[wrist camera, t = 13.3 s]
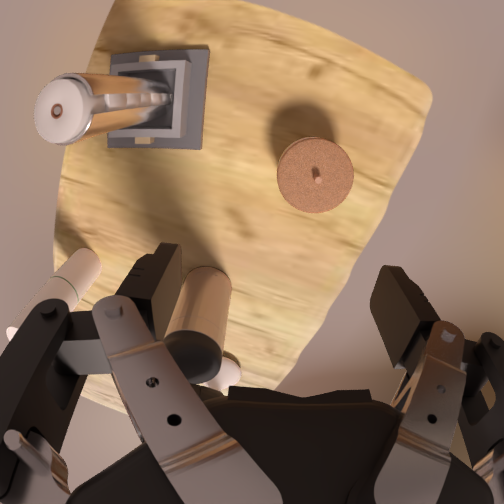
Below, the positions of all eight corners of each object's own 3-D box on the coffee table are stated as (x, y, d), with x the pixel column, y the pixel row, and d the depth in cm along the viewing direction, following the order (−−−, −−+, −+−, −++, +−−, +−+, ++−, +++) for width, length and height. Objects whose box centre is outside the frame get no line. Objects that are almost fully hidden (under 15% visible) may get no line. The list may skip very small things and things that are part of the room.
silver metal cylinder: (160, 127, 43) (70, 160, 21) (127, 109, 41) (22, 131, 19) (181, 91, 40) (101, 88, 18) (147, 73, 39) (47, 63, 17)
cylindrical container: (68, 259, 57) (2, 335, 35) (84, 241, 55) (13, 320, 33) (90, 283, 59) (33, 365, 37) (108, 267, 57) (47, 353, 35)
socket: (201, 148, 46) (194, 154, 41) (111, 146, 46) (96, 152, 41) (210, 51, 39) (203, 45, 34) (115, 55, 38) (99, 52, 33)
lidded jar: (268, 138, 45) (270, 147, 37) (336, 128, 44) (352, 135, 36) (280, 201, 50) (285, 223, 42) (344, 191, 49) (360, 211, 41)
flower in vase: (222, 344, 66) (209, 443, 44) (251, 372, 70) (247, 464, 48) (180, 362, 70) (158, 451, 48) (209, 387, 74) (196, 471, 52)
